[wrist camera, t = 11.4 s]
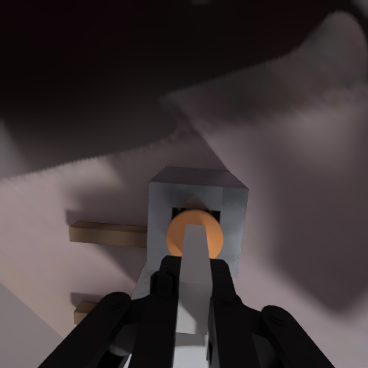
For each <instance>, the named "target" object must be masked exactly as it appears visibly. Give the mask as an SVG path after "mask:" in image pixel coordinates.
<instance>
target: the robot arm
mask: <svg viewBox="0 0 368 368" xmlns="http://www.w3.org/2000/svg"><path fill="white" fill-rule="evenodd" d="M176 332H179V333H189V334H199V335H207V333H208V346H207V356H206V361H208V365H209V368H335V367H334V366H333V365H332V364H331V362H330V361H329V360H328V359H327V357H326V356H325V355H324V354H323V353H322V351H321V350H320V349H319V348H318V347H317V345H316V344H315V343H314V342H313V340H312V339H311V338H310V337H309V336H308V334H307V333H306V332H305V331H304V330H303V328H302V327H301V326H300V325H299V324H298V322H297V321H296V320H295V319H294V317H293V316H292V315H291V314H290V313H289V312H287V311H286V310H284V309H283V308H281V307H278V306H274V305H268V306H265V307H264V308H263V309H262V311H261V312H260V311H257V310H255V309H252V308H249V307H247V306H246V305H244V304H243V303H242V301H241V299H240V297H239V296H238V295H237V294H236V292H235V288H234V284H233V281H232V277H231V273H230V269H229V266H228V264H227V263H226V262H225V261H224V259H212V258H209V250H208V242H207V233H206V225H195V224H186V226H185V234H184V243H183V251H182V256H171V255H166V256H165V257H164V258H163V259H162V261H161V264H160V268H159V271H156V272H154V273H153V274H152V275H151V277H150V294H148V295H147V296H145V297H143V298H139V299H133V300H131V297H130V296H129V295H128V294H126V293H124V292H113V293H110V294H108V295H106V296H105V297H104V298H102V299H101V300H100V302H99V303H98V304H97V305H96V306H95V307H94V308H93V309H92V310H91V311H90V312H89V313H88V314H87V315H86V316H85V318H84V319H83V320H82V321H81V322H80V323H79V324H78V325H77V326H76V327H75V328H74V329H73V330H72V331H71V333H70V334H69V335H68V336H67V337H66V338H65V339H64V340H63V341H62V342H61V343H60V344H59V345H58V346H57V348H56V349H55V350H54V351H53V352H52V353H51V354H50V355H49V356H48V357H47V358H46V359H45V360H44V362H43V363H42V364H41V365H40V366H39V367H38V368H124V366H125V364H126V362H127V360H128V358H129V356H130V354H132V355H131V358H130V361H129V365H128V368H173V363H174V353H175V342H176Z"/></svg>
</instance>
